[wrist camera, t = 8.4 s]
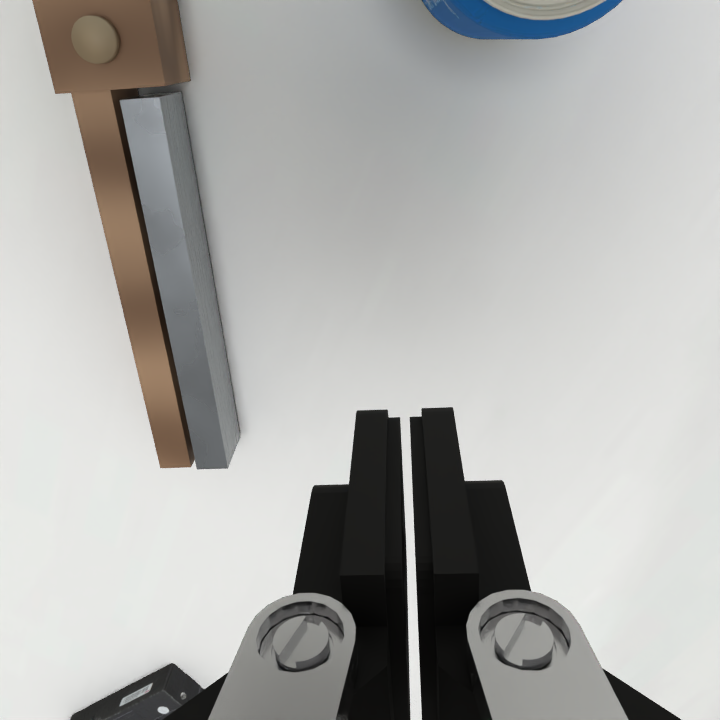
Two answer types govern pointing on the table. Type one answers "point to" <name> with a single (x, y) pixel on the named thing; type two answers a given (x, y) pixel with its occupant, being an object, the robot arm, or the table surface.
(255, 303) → the table surface
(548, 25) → the beverage can
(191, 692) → the disk drive
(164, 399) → the brown bar with block
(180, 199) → the long gray metal bar
